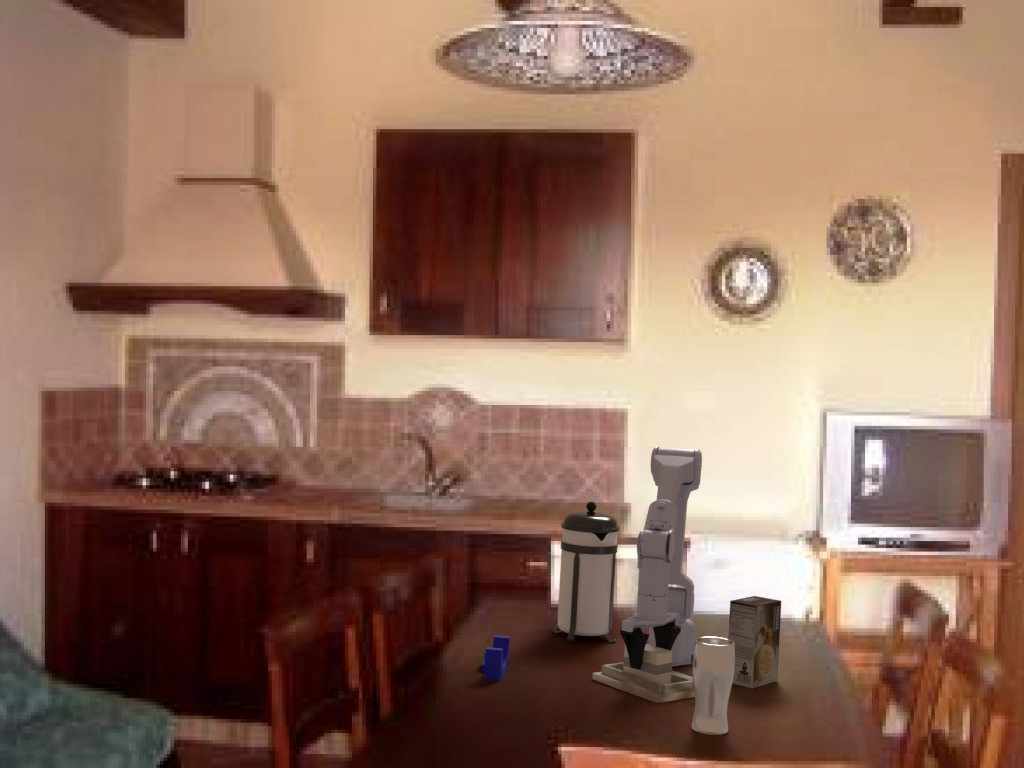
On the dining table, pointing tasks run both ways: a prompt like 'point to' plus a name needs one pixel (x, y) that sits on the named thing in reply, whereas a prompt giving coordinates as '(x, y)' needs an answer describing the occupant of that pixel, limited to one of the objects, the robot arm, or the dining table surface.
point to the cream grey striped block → (652, 665)
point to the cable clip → (496, 659)
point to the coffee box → (755, 640)
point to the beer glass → (712, 683)
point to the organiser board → (646, 684)
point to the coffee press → (587, 574)
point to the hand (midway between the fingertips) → (648, 665)
